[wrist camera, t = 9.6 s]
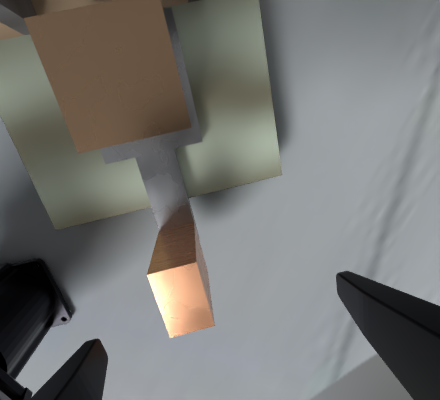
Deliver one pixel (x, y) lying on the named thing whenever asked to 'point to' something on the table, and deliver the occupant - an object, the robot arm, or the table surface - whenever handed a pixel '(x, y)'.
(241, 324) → the table surface
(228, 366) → the table surface
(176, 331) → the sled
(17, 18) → the tunnel
